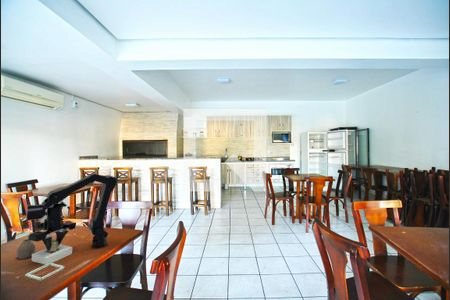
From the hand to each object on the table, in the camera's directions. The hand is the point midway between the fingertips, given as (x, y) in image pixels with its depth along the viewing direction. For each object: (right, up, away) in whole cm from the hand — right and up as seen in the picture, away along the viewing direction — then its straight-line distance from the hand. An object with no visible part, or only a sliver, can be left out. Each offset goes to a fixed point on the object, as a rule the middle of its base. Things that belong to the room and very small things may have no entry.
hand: (53, 248), depth 108 cm
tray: (+6, -5, -12) cm, 15 cm away
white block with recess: (0, -5, 0) cm, 5 cm away
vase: (-13, -5, 0) cm, 14 cm away
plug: (0, -4, 0) cm, 4 cm away
